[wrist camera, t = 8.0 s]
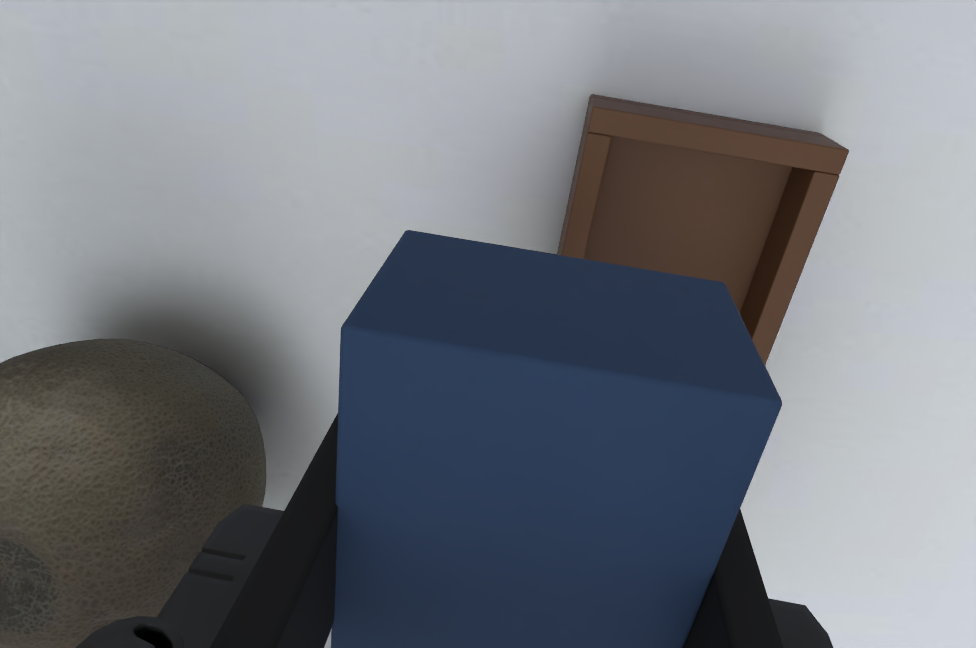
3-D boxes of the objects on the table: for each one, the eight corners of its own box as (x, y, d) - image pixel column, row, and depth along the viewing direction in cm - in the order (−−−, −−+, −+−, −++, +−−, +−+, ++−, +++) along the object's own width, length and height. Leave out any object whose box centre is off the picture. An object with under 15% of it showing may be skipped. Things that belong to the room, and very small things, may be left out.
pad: (617, 612, 17) (629, 784, 13) (379, 567, 17) (326, 724, 13) (726, 280, 12) (786, 402, 9) (405, 227, 13) (338, 326, 9)
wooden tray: (679, 517, 39) (688, 560, 36) (509, 484, 39) (504, 525, 36) (821, 133, 29) (850, 150, 26) (590, 93, 29) (592, 106, 26)
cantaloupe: (353, 381, 37) (232, 604, 24) (245, 529, 43) (100, 772, 30) (119, 233, 35) (-162, 389, 21) (39, 411, 41) (-220, 620, 27)
